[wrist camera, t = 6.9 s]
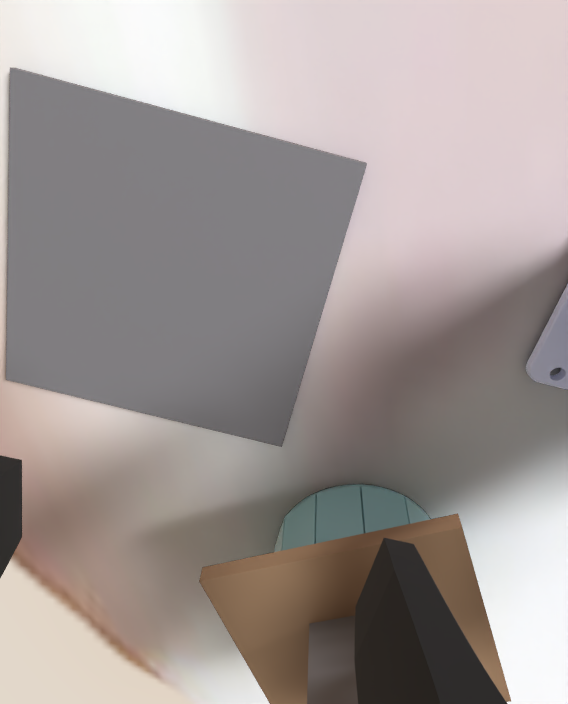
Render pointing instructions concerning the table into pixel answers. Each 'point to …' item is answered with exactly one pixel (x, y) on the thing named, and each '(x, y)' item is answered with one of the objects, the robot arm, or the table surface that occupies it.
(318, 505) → the bowl
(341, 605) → the cover
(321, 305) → the mat
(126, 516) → the table surface
